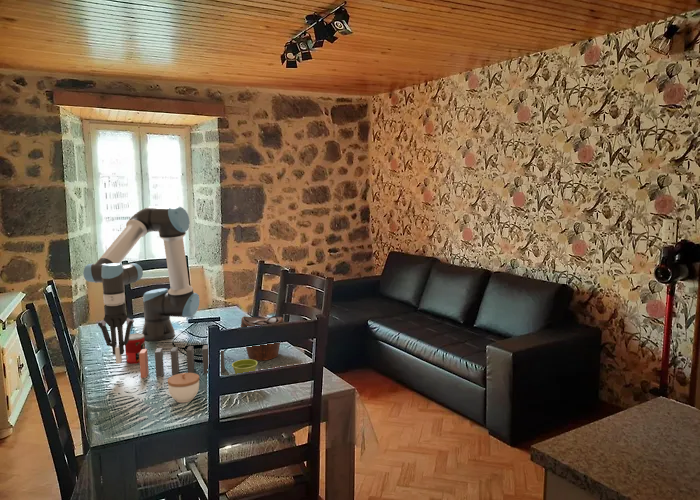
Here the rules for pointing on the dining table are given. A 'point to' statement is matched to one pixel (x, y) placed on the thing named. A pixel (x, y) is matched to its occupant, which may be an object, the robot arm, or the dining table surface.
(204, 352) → the domino
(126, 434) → the dining table surface
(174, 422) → the dining table surface
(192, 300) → the robot arm
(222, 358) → the domino
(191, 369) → the domino
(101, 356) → the dining table surface
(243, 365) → the plant pot
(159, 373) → the domino
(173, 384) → the lidded jar
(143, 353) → the domino
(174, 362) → the domino
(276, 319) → the brown basket
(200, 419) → the dining table surface
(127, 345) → the canned food
